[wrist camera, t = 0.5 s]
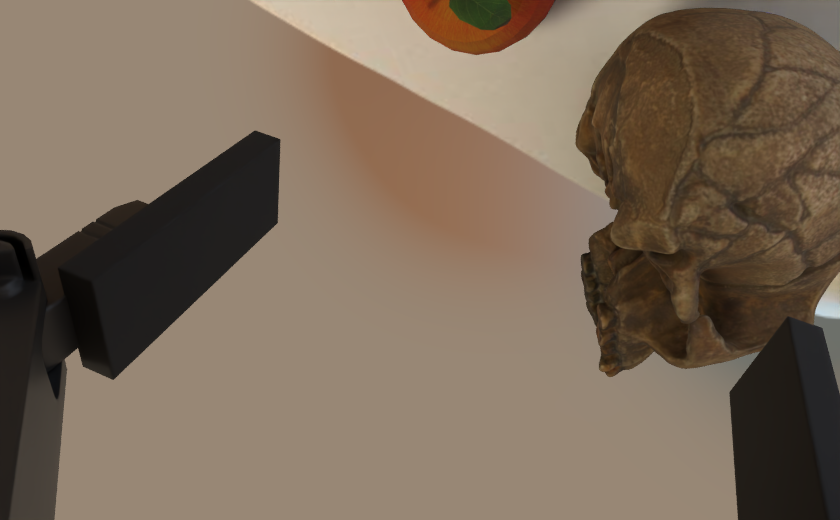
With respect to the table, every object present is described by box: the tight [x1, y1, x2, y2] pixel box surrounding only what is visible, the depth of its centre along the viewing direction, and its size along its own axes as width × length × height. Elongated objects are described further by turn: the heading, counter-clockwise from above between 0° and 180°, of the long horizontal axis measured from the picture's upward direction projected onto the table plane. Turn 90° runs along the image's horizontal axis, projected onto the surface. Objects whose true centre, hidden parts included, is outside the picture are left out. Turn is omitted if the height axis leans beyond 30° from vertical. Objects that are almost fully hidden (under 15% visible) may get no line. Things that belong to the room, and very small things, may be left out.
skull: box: [576, 8, 840, 377], centre depth 34 cm, size 20×18×16 cm
